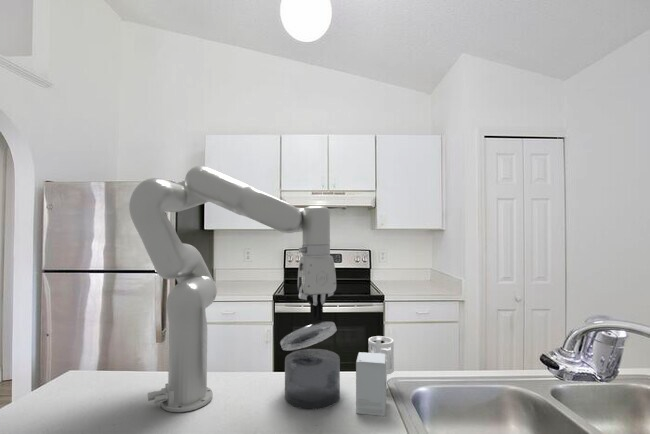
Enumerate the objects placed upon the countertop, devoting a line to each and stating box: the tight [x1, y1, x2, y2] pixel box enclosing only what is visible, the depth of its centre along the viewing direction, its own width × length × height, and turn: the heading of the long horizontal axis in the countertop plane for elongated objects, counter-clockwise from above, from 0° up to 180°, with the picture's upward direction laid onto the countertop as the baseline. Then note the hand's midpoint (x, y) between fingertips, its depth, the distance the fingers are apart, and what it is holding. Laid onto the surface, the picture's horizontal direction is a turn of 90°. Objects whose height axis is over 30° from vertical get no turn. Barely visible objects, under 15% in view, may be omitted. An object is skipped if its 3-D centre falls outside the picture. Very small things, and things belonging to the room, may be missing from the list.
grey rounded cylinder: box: [284, 348, 341, 411], centre depth 93 cm, size 15×15×10 cm
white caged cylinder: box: [368, 335, 395, 392], centre depth 96 cm, size 7×7×15 cm
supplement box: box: [355, 351, 387, 417], centre depth 86 cm, size 7×7×13 cm
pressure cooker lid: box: [279, 321, 337, 351], centre depth 95 cm, size 16×16×4 cm
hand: (316, 319), depth 92 cm, fingers closed
